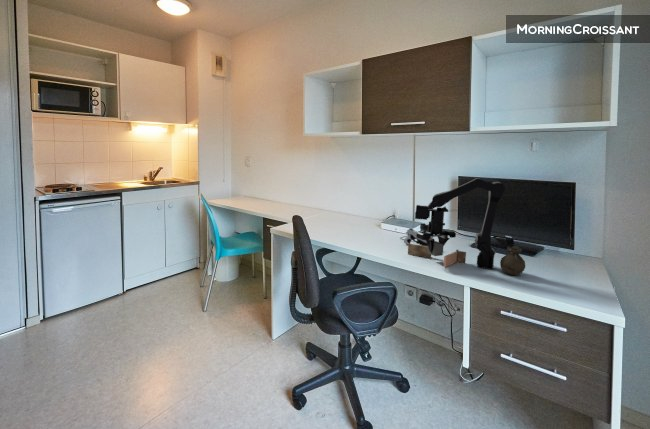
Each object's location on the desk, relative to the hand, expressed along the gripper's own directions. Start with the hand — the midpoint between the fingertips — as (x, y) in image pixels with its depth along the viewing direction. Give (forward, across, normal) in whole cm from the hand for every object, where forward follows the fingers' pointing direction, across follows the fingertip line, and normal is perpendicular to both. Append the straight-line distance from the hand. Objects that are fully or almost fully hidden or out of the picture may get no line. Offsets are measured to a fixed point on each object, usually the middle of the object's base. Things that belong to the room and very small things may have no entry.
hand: (435, 251), depth 167 cm
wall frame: (+5, -4, -4) cm, 7 cm away
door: (+5, -4, +6) cm, 9 cm away
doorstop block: (+1, 0, 0) cm, 1 cm away
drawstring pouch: (+5, -22, +25) cm, 34 cm away
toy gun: (+5, -7, -24) cm, 26 cm away
